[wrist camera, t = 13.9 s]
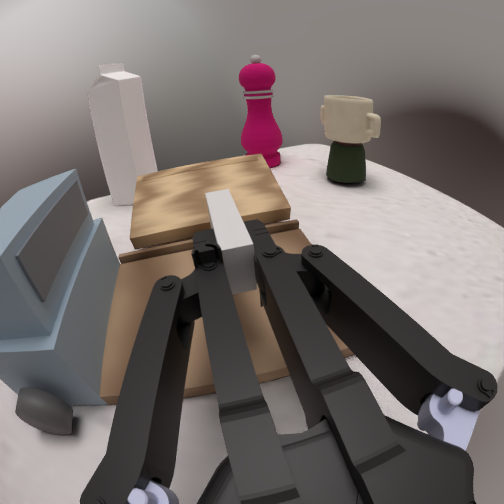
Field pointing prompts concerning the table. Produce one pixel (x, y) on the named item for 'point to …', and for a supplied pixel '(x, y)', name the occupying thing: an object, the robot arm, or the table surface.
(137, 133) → the milk
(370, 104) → the character mug
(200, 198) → the side gate
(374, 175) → the table surface
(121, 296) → the flatbed
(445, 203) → the table surface
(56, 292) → the cab
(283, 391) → the table surface
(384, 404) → the table surface
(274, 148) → the pepper mill
